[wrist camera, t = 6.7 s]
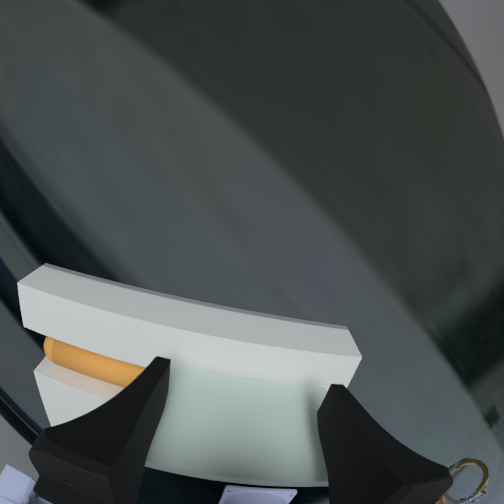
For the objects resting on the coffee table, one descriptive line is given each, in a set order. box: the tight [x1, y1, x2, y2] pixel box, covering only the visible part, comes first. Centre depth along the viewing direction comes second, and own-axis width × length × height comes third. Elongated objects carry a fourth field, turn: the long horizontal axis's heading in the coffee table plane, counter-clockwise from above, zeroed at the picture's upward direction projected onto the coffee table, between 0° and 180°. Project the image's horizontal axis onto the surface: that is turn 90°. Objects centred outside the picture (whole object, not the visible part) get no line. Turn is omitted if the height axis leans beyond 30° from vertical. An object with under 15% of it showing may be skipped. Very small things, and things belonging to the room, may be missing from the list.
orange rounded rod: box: [44, 336, 146, 388], centre depth 19 cm, size 2×12×2 cm, turn 78°
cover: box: [145, 364, 329, 487], centre depth 14 cm, size 6×10×1 cm
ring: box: [443, 459, 489, 504], centre depth 24 cm, size 7×3×8 cm, turn 122°
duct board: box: [17, 263, 362, 427], centre depth 19 cm, size 15×21×4 cm
